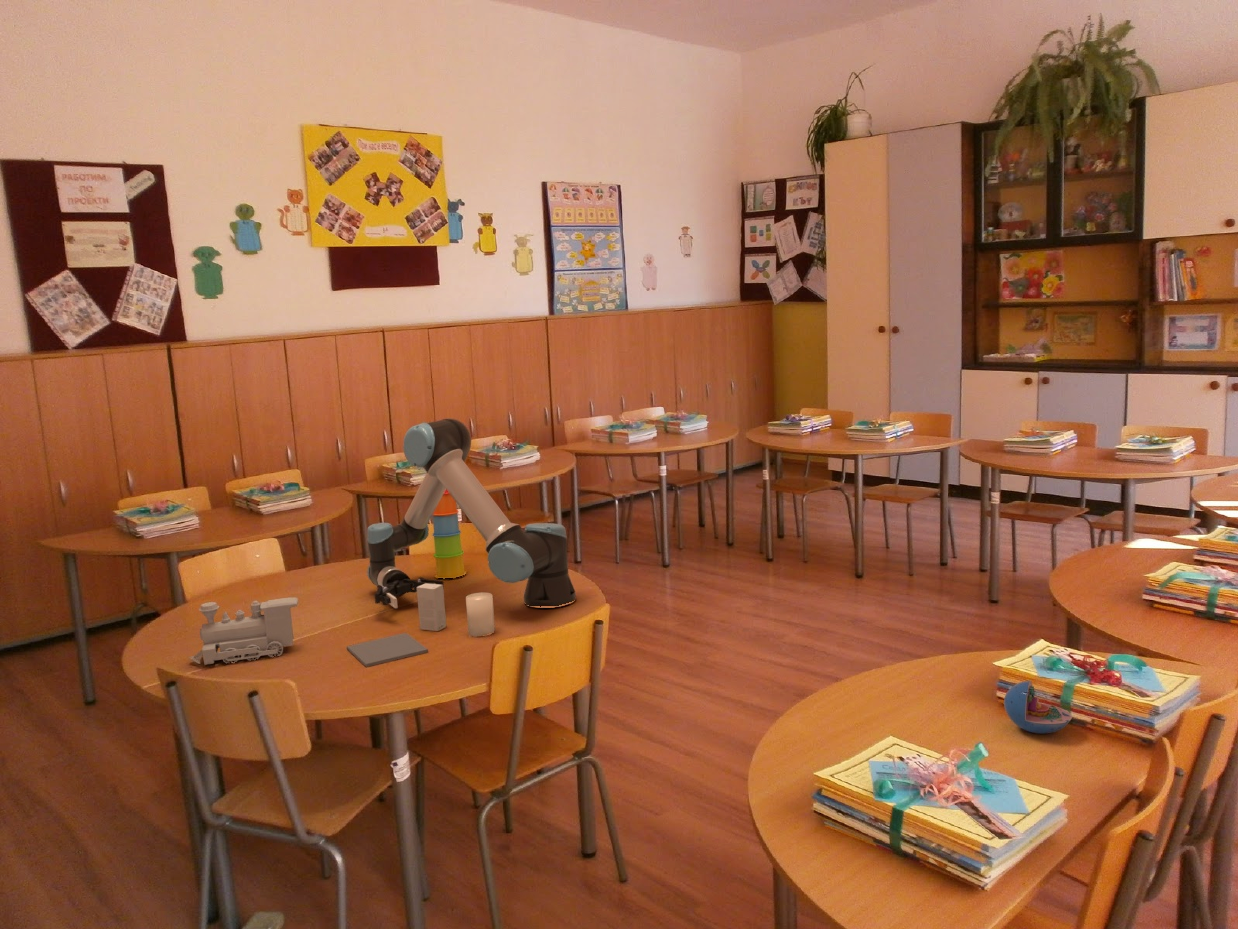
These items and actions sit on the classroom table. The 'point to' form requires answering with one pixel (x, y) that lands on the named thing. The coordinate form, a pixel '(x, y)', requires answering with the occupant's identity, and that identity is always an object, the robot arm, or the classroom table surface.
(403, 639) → the felt mat
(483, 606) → the white pillar candle
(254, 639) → the toy train
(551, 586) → the robot arm
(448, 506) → the stacking cups
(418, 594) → the skincare box
